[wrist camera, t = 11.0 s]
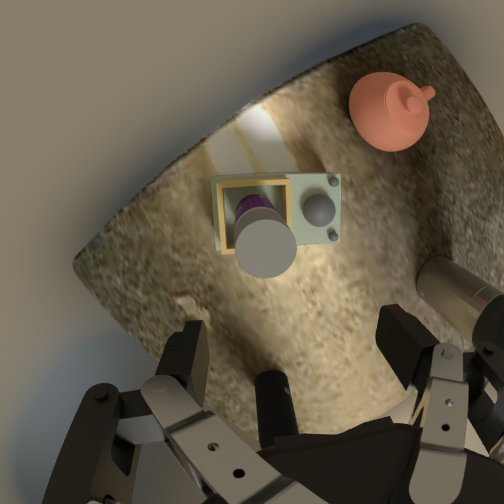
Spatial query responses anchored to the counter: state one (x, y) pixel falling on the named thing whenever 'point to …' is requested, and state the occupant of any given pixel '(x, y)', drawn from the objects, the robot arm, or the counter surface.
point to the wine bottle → (274, 407)
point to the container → (262, 238)
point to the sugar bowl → (389, 110)
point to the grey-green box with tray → (281, 204)
